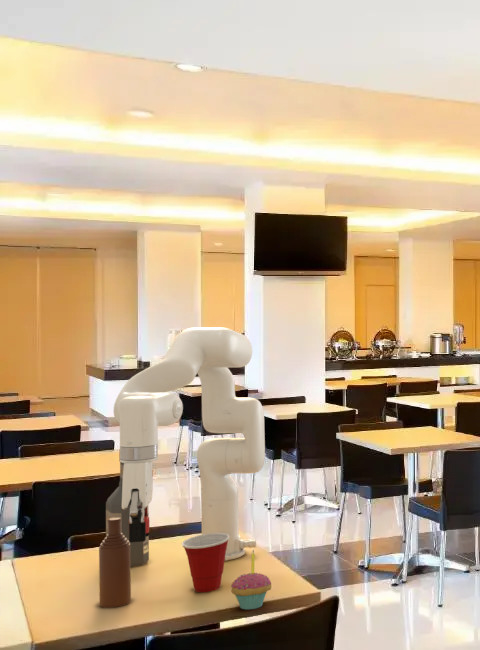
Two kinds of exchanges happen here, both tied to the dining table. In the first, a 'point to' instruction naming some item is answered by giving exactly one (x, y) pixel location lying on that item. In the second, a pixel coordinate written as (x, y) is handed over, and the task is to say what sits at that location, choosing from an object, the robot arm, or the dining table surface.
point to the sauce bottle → (114, 567)
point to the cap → (146, 519)
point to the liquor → (126, 524)
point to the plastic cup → (206, 560)
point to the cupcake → (251, 588)
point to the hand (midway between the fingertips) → (139, 538)
